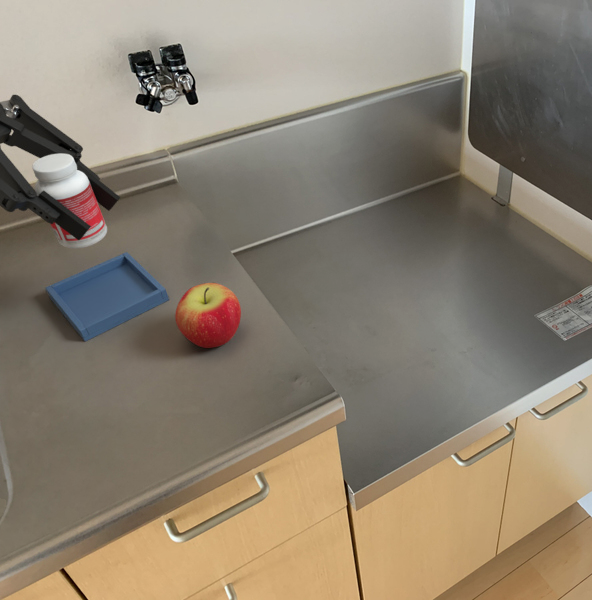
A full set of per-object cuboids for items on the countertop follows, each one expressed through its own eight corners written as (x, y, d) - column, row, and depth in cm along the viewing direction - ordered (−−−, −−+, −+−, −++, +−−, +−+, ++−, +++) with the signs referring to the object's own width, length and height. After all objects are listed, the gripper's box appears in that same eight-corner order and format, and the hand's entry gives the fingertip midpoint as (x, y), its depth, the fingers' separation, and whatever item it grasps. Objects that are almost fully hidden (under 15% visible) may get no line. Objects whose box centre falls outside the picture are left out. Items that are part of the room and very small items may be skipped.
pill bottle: (118, 228, 83) (91, 154, 76) (87, 254, 79) (55, 178, 71) (80, 220, 84) (50, 146, 77) (48, 244, 80) (13, 169, 73)
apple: (209, 369, 80) (192, 313, 73) (171, 339, 84) (152, 284, 78) (258, 335, 85) (246, 280, 78) (220, 309, 89) (206, 254, 82)
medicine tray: (85, 341, 84) (79, 330, 82) (50, 298, 91) (44, 287, 89) (169, 299, 90) (165, 289, 89) (130, 262, 97) (126, 251, 96)
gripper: (-26, 73, 79) (126, 195, 88) (-152, 140, 65) (43, 277, 74) (-8, 34, 75) (150, 166, 84) (-139, 96, 61) (67, 247, 70)
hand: (100, 218), depth 79 cm, fingers closed on pill bottle, 6 cm apart
